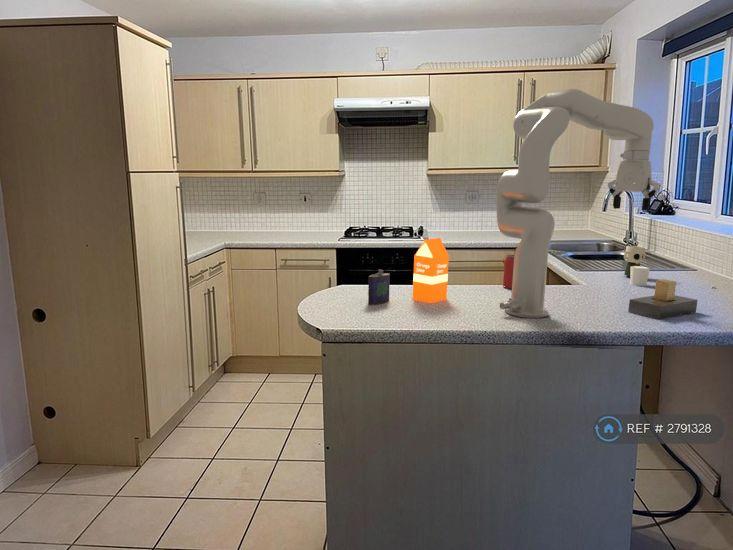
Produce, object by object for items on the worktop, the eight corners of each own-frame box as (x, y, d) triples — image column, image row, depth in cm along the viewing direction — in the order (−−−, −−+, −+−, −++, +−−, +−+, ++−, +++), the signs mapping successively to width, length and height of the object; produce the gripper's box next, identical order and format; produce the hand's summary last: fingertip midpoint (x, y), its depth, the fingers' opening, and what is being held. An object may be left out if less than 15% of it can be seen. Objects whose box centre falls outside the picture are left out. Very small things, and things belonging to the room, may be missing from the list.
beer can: (507, 285, 208) (509, 253, 206) (523, 287, 204) (526, 255, 202) (499, 287, 203) (501, 255, 201) (516, 290, 199) (518, 257, 197)
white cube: (651, 286, 213) (653, 268, 212) (633, 286, 213) (635, 268, 212) (642, 283, 220) (644, 265, 218) (625, 282, 220) (627, 265, 218)
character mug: (628, 279, 227) (631, 248, 225) (615, 276, 234) (618, 245, 231) (649, 278, 231) (652, 247, 228) (635, 275, 237) (639, 245, 235)
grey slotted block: (659, 319, 162) (660, 306, 162) (628, 311, 171) (629, 299, 170) (695, 312, 173) (697, 299, 172) (664, 305, 181) (666, 293, 180)
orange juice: (412, 298, 181) (414, 238, 177) (428, 295, 187) (430, 236, 183) (431, 303, 175) (434, 241, 172) (447, 299, 182) (450, 239, 178)
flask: (385, 299, 179) (386, 267, 177) (391, 301, 177) (393, 268, 175) (365, 304, 172) (366, 270, 170) (372, 305, 170) (373, 271, 168)
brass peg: (664, 314, 169) (668, 282, 167) (652, 311, 172) (656, 280, 171) (672, 312, 171) (676, 281, 169) (659, 310, 174) (663, 279, 173)
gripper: (605, 156, 184) (600, 208, 187) (657, 156, 170) (651, 211, 173) (617, 157, 188) (611, 207, 191) (669, 157, 175) (662, 211, 178)
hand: (630, 209), depth 182 cm, fingers open, 9 cm apart
